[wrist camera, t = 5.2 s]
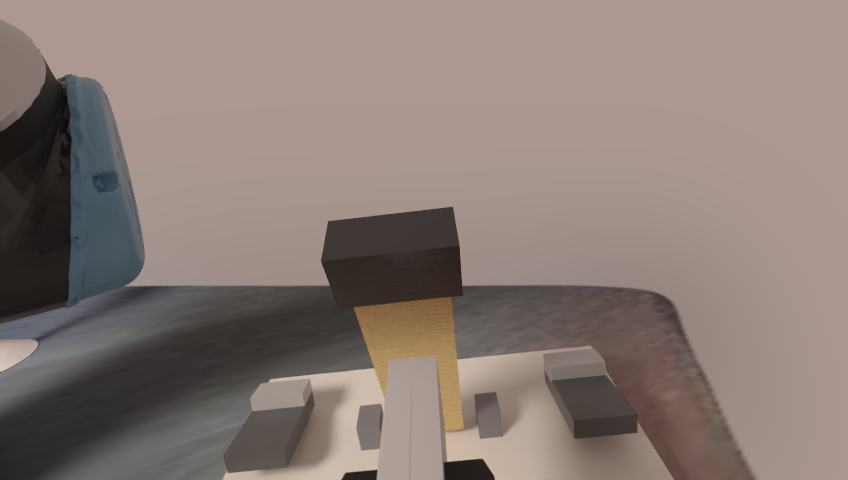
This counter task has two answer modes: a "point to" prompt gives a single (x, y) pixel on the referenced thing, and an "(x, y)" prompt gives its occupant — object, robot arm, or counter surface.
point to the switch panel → (466, 428)
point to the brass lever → (401, 290)
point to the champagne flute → (15, 351)
